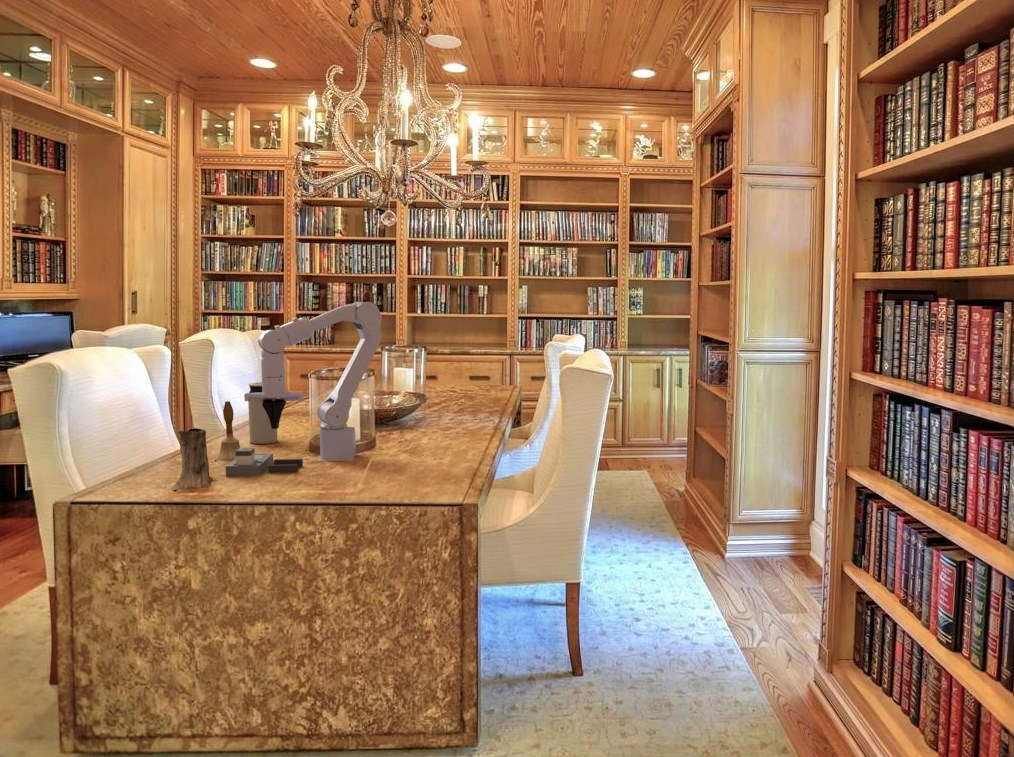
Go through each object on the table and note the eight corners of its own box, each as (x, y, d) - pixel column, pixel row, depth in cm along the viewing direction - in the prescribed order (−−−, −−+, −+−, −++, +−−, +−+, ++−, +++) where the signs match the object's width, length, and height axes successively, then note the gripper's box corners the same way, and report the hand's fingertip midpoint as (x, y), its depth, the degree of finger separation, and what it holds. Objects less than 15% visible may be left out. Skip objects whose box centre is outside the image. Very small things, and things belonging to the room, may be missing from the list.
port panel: (273, 464, 190) (273, 451, 190) (259, 477, 177) (259, 464, 176) (242, 464, 190) (241, 452, 189) (226, 478, 176) (225, 464, 176)
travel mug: (283, 441, 221) (281, 382, 218) (261, 445, 214) (259, 385, 212) (265, 438, 225) (263, 380, 223) (244, 442, 218) (241, 383, 216)
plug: (255, 473, 181) (254, 447, 180) (251, 476, 178) (250, 450, 177) (240, 473, 181) (239, 448, 180) (236, 477, 177) (235, 451, 176)
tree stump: (170, 493, 162) (168, 434, 161) (172, 483, 171) (170, 427, 170) (218, 489, 166) (216, 432, 165) (217, 480, 175) (215, 425, 174)
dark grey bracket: (302, 467, 187) (302, 458, 186) (297, 474, 180) (296, 465, 179) (275, 468, 186) (274, 459, 186) (268, 475, 179) (268, 465, 179)
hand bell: (236, 463, 191) (233, 404, 190) (208, 461, 193) (205, 403, 191) (253, 456, 200) (250, 399, 198) (226, 455, 201) (223, 398, 199)
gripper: (240, 378, 182) (242, 431, 184) (298, 378, 183) (300, 430, 185) (247, 375, 189) (249, 426, 191) (304, 374, 190) (305, 425, 192)
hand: (275, 428), depth 188 cm, fingers closed
